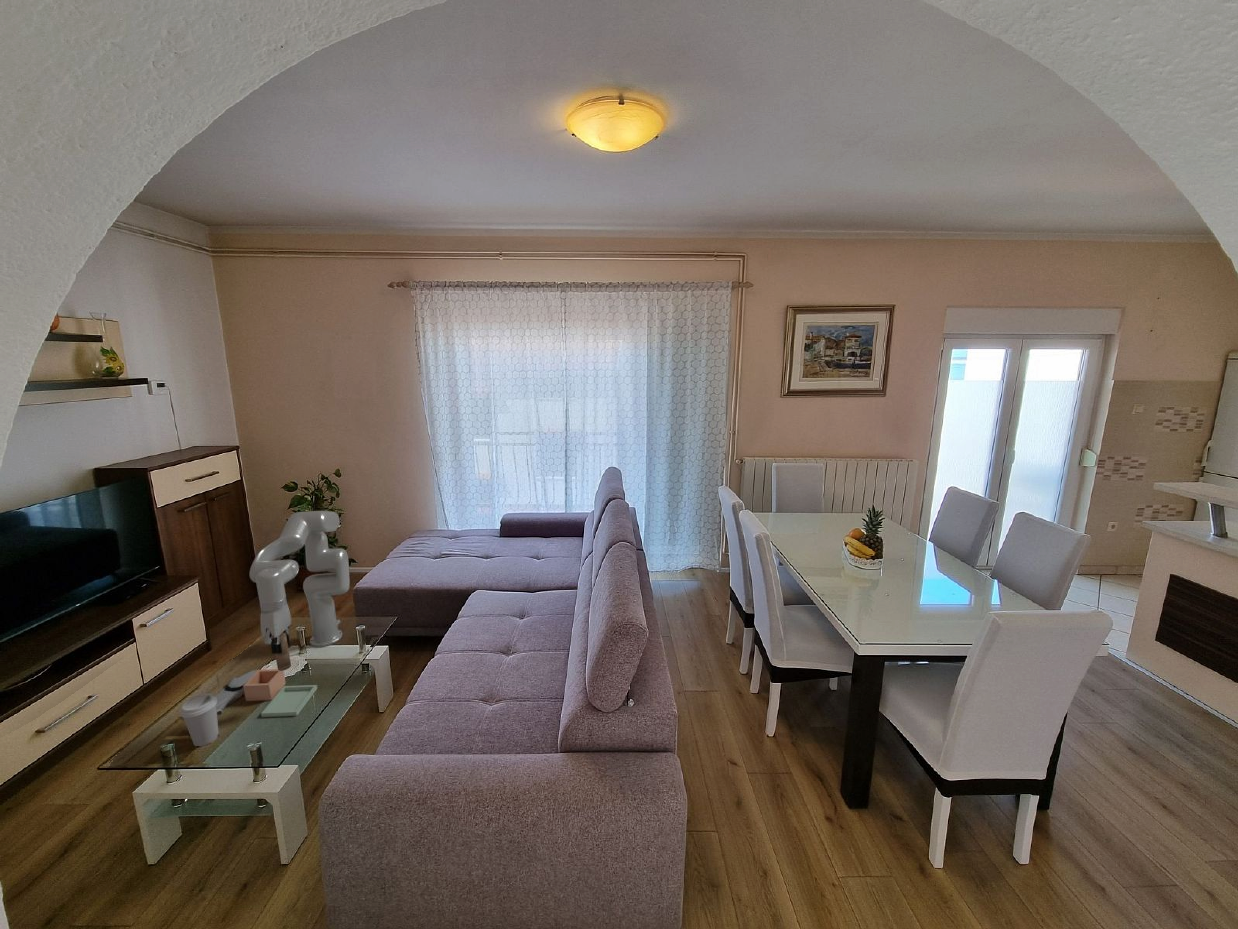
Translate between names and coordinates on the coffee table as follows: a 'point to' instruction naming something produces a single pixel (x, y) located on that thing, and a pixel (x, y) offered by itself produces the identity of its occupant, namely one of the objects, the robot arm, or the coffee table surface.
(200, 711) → the coffee cup
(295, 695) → the tray
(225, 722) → the coffee table surface
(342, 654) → the coffee table surface
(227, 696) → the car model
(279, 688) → the pink storage bin
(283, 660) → the peg
